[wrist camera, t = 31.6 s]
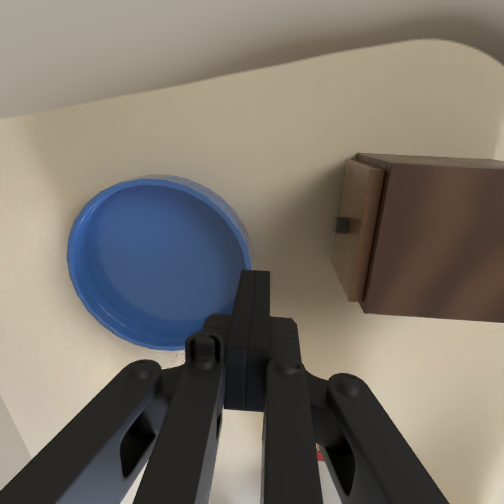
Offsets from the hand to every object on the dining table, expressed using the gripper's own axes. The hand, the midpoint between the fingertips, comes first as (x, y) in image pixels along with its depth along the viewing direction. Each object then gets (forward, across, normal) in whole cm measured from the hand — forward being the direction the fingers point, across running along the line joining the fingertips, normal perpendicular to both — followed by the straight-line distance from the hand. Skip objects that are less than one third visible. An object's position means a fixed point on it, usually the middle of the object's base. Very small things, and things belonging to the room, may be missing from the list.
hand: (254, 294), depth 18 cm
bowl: (+20, -11, -7) cm, 24 cm away
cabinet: (+20, +16, 0) cm, 26 cm away
